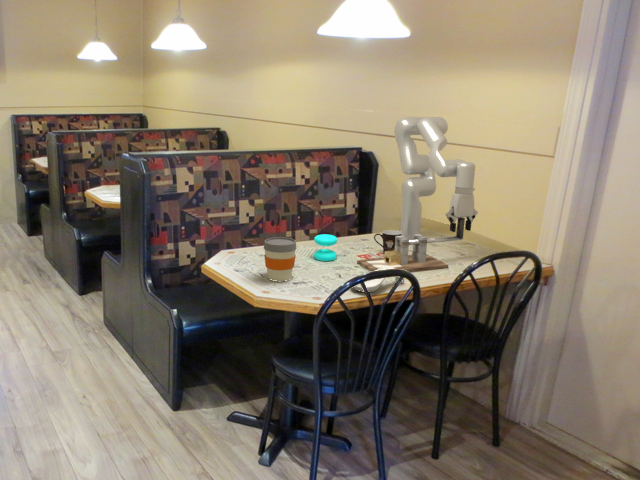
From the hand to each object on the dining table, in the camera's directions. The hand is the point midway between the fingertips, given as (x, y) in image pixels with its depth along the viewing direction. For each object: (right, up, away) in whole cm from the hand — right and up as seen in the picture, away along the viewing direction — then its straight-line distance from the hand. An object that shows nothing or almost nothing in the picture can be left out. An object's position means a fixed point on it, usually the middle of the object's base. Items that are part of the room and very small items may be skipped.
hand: (460, 230), depth 258 cm
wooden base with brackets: (-26, -15, -8) cm, 31 cm away
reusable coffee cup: (-77, -19, -29) cm, 85 cm away
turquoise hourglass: (-59, -13, -1) cm, 61 cm away
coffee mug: (-31, -10, +10) cm, 34 cm away
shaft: (-13, -5, -5) cm, 15 cm away
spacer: (-31, -14, -10) cm, 36 cm away
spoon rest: (-40, -22, -35) cm, 58 cm away
